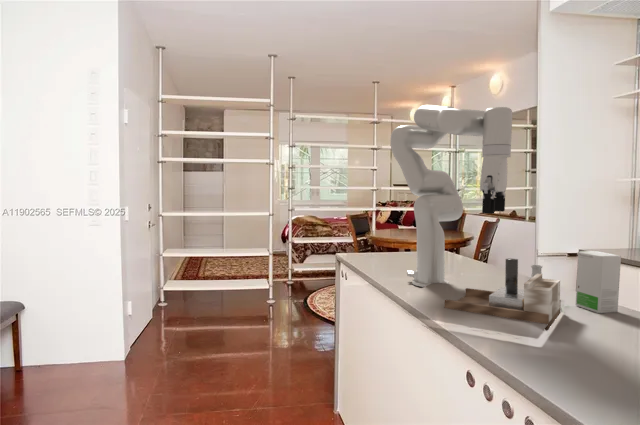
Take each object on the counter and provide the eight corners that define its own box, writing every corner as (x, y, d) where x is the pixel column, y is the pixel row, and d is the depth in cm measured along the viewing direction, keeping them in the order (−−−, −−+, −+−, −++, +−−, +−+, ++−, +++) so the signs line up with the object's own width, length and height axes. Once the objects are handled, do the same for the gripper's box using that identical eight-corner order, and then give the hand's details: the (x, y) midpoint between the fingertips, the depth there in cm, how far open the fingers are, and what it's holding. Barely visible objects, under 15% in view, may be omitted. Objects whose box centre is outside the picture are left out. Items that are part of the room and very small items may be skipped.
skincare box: (574, 306, 123) (575, 251, 122) (594, 304, 124) (595, 250, 124) (600, 314, 115) (601, 255, 114) (620, 312, 116) (621, 254, 115)
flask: (553, 301, 128) (553, 267, 128) (526, 300, 130) (527, 267, 129) (545, 295, 135) (545, 263, 135) (520, 295, 137) (520, 263, 136)
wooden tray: (444, 313, 117) (444, 275, 116) (466, 299, 131) (467, 266, 131) (547, 330, 102) (548, 287, 101) (560, 312, 116) (560, 275, 116)
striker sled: (488, 310, 113) (489, 260, 112) (501, 301, 122) (502, 255, 122) (522, 315, 108) (522, 263, 107) (532, 305, 117) (533, 257, 117)
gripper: (492, 153, 132) (489, 209, 134) (472, 151, 119) (470, 213, 120) (518, 153, 127) (515, 211, 129) (501, 150, 114) (498, 215, 115)
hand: (493, 212), depth 125 cm, fingers open, 9 cm apart
